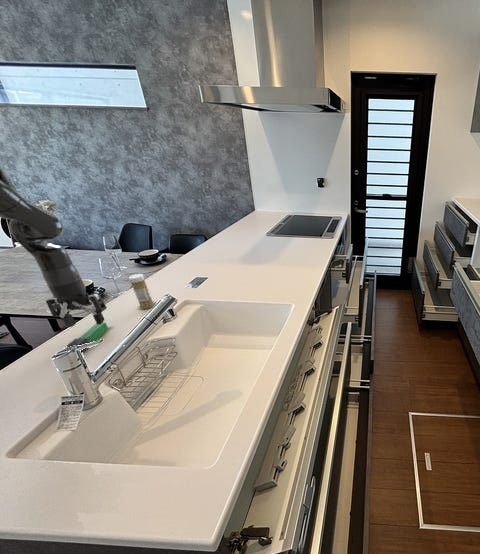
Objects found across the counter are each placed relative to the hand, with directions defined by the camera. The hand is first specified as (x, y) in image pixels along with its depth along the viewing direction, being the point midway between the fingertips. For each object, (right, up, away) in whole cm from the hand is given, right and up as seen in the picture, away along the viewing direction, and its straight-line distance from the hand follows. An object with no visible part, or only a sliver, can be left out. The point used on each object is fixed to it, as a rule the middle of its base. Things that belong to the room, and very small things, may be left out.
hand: (86, 324), depth 99 cm
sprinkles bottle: (+3, +4, +22) cm, 23 cm away
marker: (0, -6, +2) cm, 6 cm away
